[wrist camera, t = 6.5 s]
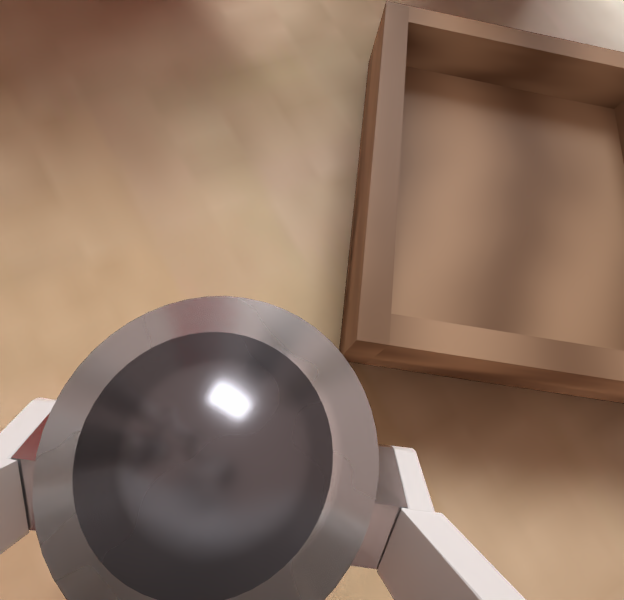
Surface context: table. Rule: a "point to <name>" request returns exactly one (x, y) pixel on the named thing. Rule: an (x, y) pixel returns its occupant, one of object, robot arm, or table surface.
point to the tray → (489, 207)
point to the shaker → (207, 460)
